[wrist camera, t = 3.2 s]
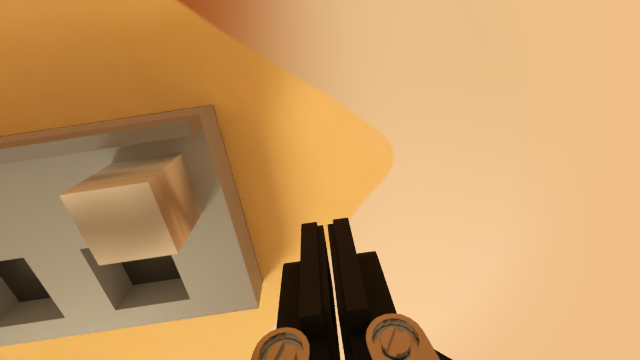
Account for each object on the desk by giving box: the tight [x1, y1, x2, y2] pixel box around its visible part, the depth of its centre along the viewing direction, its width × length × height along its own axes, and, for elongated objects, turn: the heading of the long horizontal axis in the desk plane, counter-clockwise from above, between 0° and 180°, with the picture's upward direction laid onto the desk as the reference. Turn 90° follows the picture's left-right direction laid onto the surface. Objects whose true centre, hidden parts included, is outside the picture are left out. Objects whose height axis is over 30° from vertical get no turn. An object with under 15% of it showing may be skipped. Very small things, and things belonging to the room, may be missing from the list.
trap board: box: [0, 105, 263, 347], centre depth 21 cm, size 16×24×5 cm, turn 98°
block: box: [59, 153, 202, 266], centre depth 17 cm, size 4×4×4 cm
